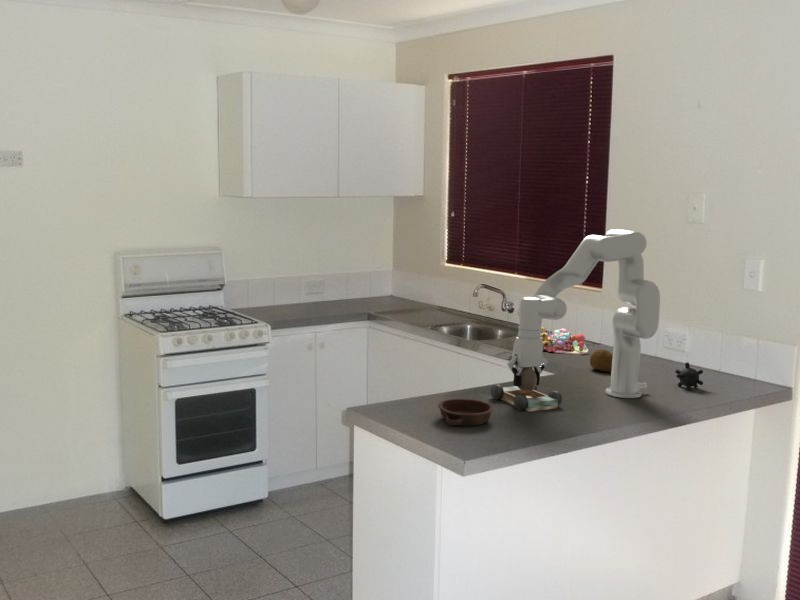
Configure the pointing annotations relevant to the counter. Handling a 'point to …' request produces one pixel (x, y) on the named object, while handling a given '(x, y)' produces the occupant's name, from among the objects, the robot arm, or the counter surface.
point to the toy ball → (689, 377)
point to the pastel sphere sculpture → (563, 342)
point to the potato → (601, 360)
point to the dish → (465, 411)
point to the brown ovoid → (528, 379)
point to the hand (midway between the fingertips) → (526, 384)
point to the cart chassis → (527, 398)
